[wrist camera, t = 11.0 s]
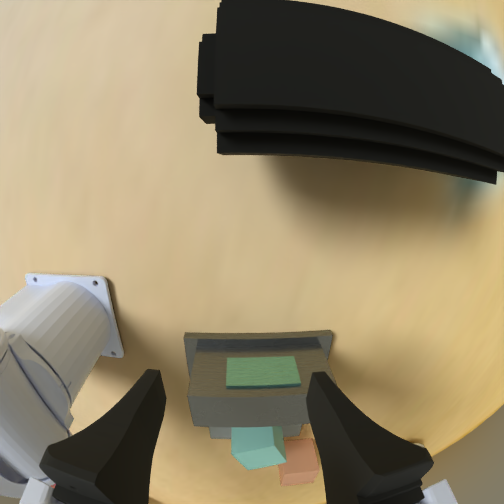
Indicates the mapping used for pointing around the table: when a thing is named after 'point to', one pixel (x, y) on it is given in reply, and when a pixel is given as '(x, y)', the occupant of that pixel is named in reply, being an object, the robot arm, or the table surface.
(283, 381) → the block
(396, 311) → the table surface
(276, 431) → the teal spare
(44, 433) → the robot arm
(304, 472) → the salmon pink block
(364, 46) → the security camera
